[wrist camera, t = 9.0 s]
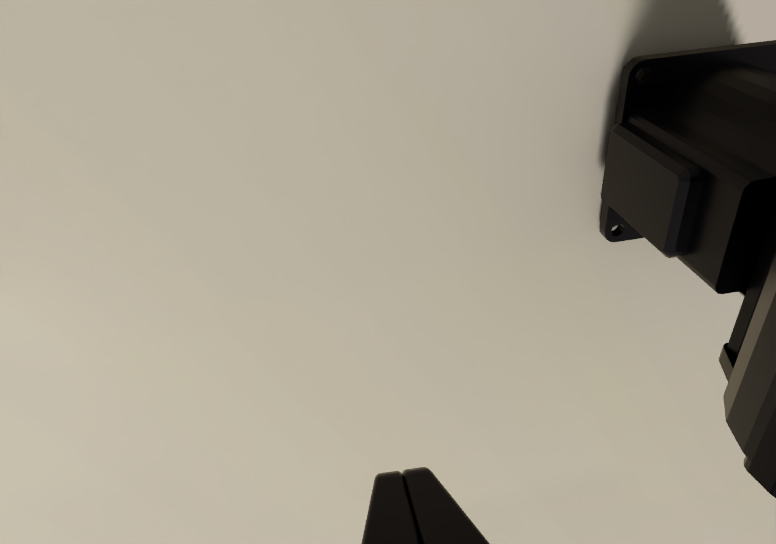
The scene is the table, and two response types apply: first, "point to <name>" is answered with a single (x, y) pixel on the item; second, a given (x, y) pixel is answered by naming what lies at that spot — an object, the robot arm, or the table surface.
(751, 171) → the robot arm
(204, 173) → the table surface
